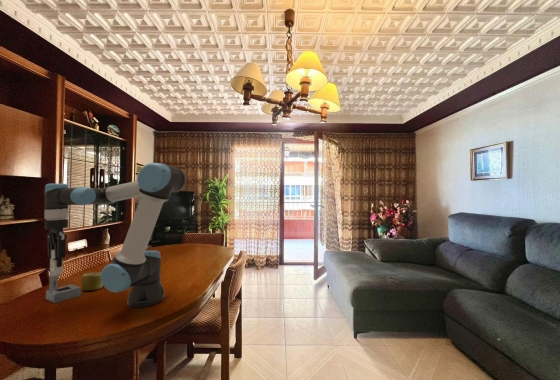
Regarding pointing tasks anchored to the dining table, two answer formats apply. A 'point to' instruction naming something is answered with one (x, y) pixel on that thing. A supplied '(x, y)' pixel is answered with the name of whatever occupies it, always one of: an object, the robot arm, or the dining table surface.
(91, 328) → the dining table surface
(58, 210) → the robot arm
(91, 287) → the mug
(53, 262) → the pin
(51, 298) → the grey l-shaped block
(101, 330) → the dining table surface
